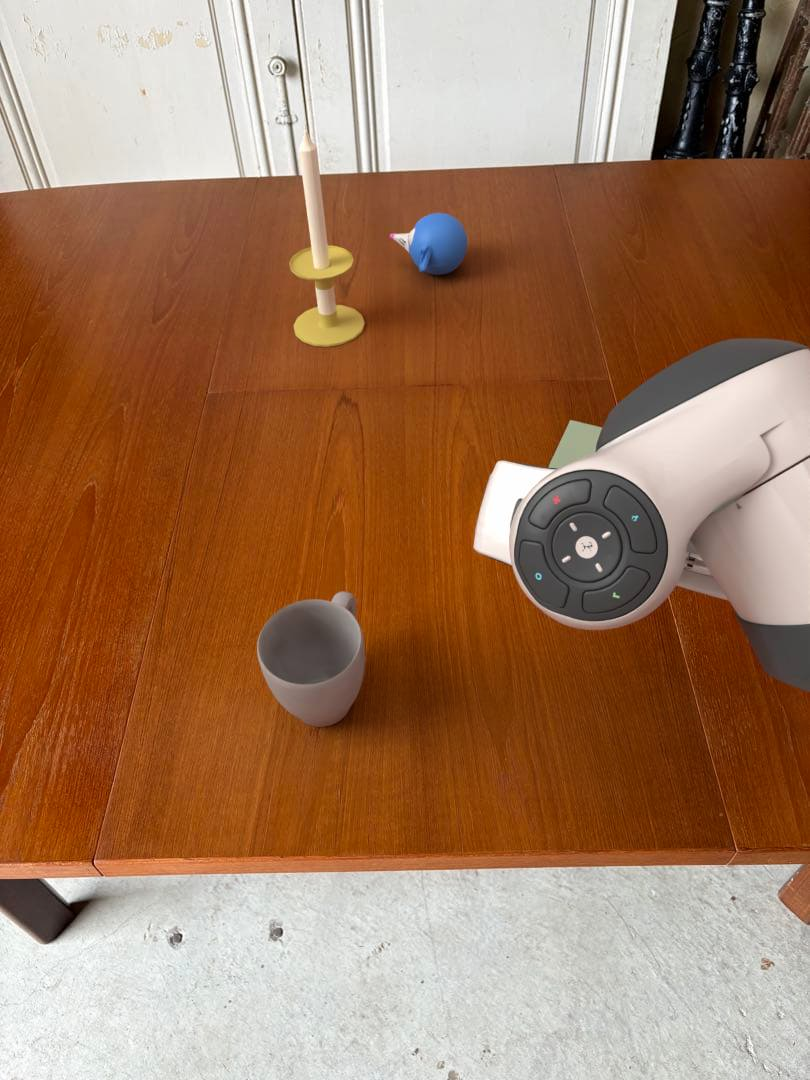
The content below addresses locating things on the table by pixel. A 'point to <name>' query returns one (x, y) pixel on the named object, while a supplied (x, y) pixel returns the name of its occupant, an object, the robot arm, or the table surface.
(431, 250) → the blue mole toy
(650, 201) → the table surface
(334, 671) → the mug
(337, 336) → the candle
